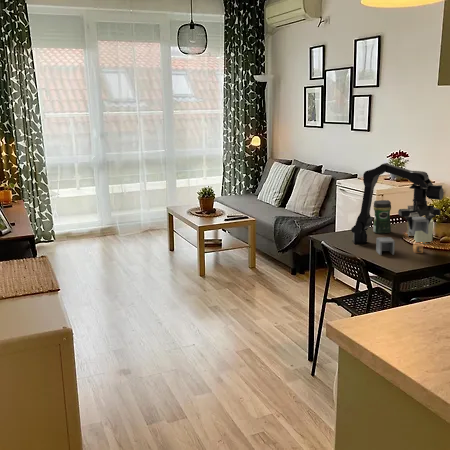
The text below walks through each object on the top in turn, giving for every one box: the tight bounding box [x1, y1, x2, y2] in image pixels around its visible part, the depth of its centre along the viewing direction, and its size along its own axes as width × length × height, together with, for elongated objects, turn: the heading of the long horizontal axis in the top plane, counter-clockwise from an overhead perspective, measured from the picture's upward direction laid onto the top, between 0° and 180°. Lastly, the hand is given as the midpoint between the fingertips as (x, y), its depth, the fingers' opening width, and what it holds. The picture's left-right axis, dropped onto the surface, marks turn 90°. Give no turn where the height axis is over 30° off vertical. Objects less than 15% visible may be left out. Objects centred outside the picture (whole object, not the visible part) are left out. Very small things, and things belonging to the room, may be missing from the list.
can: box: [413, 218, 434, 244], centre depth 270 cm, size 9×9×12 cm
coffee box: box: [406, 205, 423, 237], centre depth 281 cm, size 9×6×16 cm
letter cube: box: [412, 243, 424, 254], centre depth 253 cm, size 4×4×4 cm
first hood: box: [375, 236, 396, 256], centre depth 254 cm, size 7×7×7 cm
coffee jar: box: [372, 199, 392, 234], centre depth 290 cm, size 10×8×19 cm
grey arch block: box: [409, 216, 429, 234], centre depth 251 cm, size 7×7×7 cm
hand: (418, 229), depth 252 cm, fingers closed on grey arch block, 7 cm apart
